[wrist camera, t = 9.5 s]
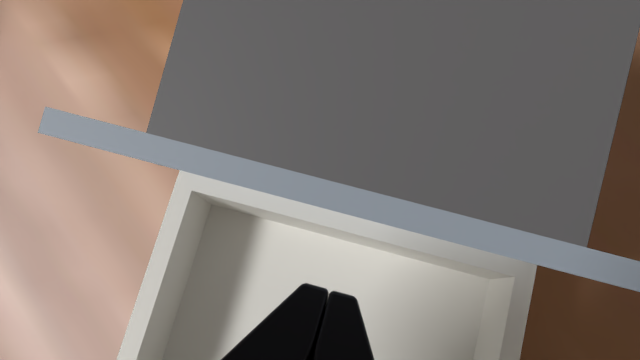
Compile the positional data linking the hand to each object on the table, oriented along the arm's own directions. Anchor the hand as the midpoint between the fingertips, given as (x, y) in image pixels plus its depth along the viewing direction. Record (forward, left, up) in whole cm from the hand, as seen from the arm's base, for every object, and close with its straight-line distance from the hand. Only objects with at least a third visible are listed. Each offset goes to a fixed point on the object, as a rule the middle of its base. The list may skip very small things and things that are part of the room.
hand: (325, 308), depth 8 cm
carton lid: (+2, +2, -5) cm, 5 cm away
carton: (-1, -1, -12) cm, 12 cm away
